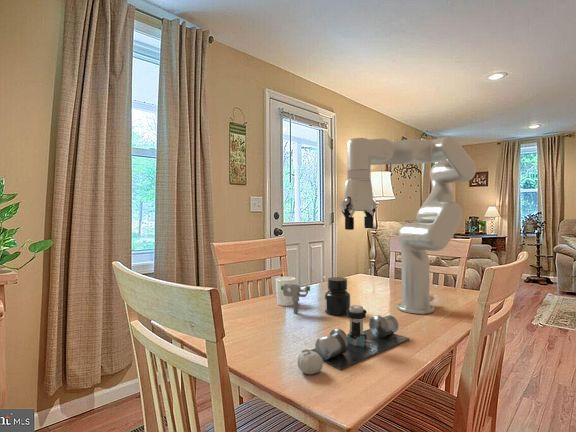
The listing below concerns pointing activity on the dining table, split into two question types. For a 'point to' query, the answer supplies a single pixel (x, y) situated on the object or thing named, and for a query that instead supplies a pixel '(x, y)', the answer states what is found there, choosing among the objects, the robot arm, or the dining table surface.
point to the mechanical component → (294, 293)
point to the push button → (357, 326)
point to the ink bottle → (337, 296)
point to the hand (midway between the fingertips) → (359, 228)
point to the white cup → (281, 298)
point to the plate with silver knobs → (345, 355)
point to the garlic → (309, 362)
